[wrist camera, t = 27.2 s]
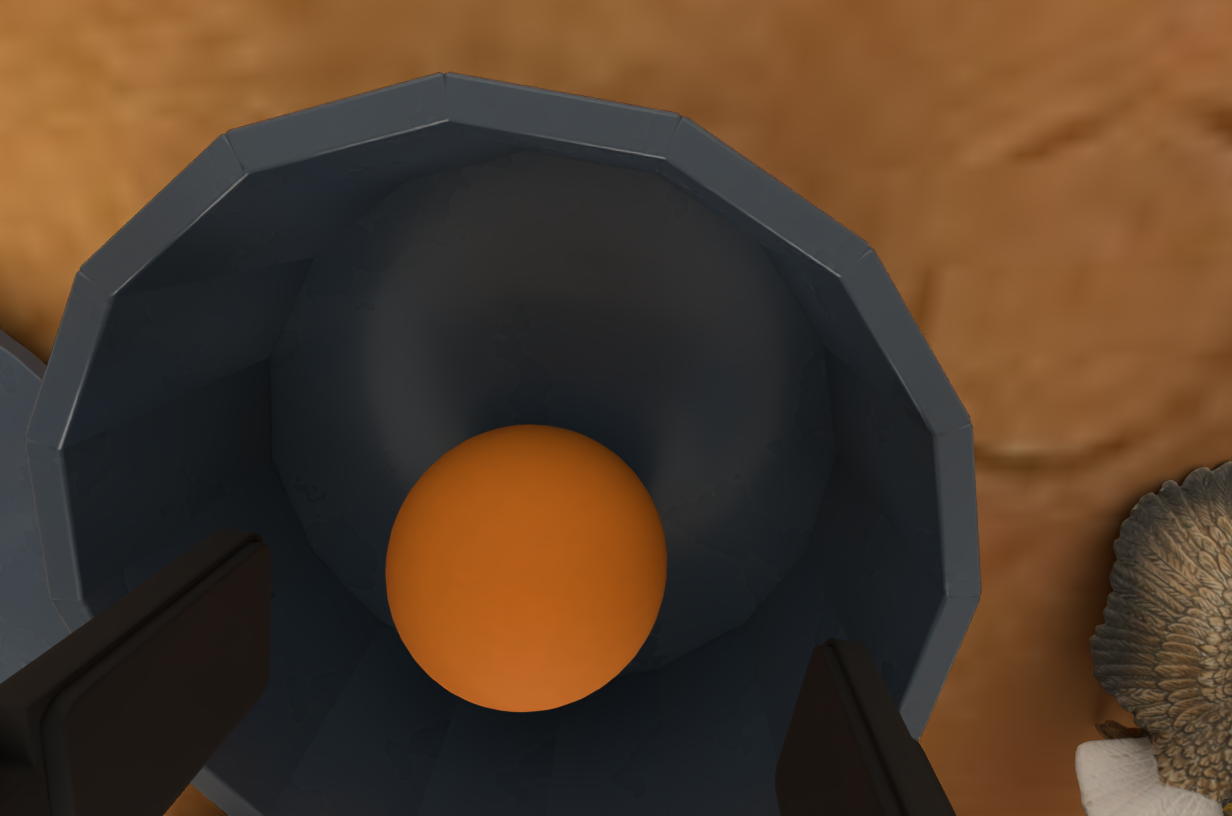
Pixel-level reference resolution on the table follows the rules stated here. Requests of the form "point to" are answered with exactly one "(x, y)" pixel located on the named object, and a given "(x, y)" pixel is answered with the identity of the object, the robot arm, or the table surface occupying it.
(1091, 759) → the eagle figurine
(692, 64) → the table surface
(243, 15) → the table surface
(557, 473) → the orange ball
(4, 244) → the table surface
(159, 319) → the dark blue round container
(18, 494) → the pan lid
